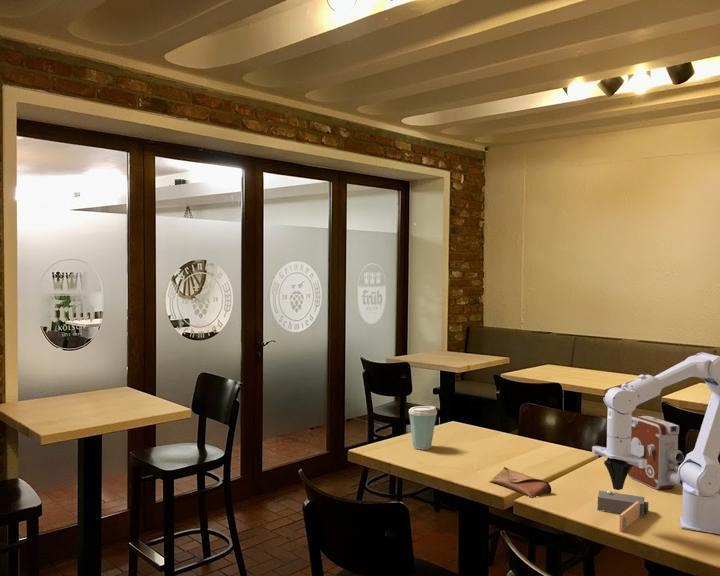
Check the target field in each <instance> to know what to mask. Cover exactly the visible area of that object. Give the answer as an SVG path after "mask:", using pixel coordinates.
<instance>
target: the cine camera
mask: <svg viewBox="0 0 720 576" xmlns="http://www.w3.org/2000/svg"><path fill="white" fill-rule="evenodd" d="M679 434H680V425H678V424H675V423H674V422H669V421H667V420H663V419H659V418H658V417H653V416H649V415H641V416H640V415H638V416H636V415H635V416H632V425H631V453H632V454H634V455H636V456H638V457H641V458H643V459H646V460H647V468H639V467H638V466H635V465H633V466H632V468H631V469H630V471H629V472H628V474H627V476H628V477H629V478H631V479H632V480H635V481H637V482H638V483H641V484H643V485H645V486H647V485H648V487H650V488H651V489H654V490H666V489H674V488H676V486H678V487H679V486H680V487H683V482H682V481H681V480H680V478H679V476H678V468H679V466H680V465H679V463H682V462H683V461H684V459H685V458H684V457H685V456H684V454H683V452H682V451H681V450H679Z"/></svg>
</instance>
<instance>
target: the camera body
mask: <svg viewBox="0 0 720 576" xmlns="http://www.w3.org/2000/svg"><path fill="white" fill-rule="evenodd" d="M597 495H598V496H597V511H600V510H604V511H603V512H607V511H609V512H608V513H613V512H615V513H614V514H619V513H623V512H624V511H625V510H626V509H628V508H629V507H630V506H631V505H633V504H634V503H635V502H636V501H640V517H639V518H645V514H649V502H648V501H645V496H639V495H632V494H625V493H620V492H619V493H618V492H613V491H612V490H607V491H606V490H599V491H598V494H597ZM616 512H617V513H616Z"/></svg>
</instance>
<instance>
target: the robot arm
mask: <svg viewBox="0 0 720 576" xmlns="http://www.w3.org/2000/svg"><path fill="white" fill-rule="evenodd" d="M691 377H692V378H700V379H701V380H702V381H704V382H705V384H706V385H707V387H708V389H709V390H710V391H711V395H710V398H709V402H708V405H707V407H706V411H705V414H704V417H703V420H702V424H701V426H700V430H699V433H698V436H697V439H696V442H695V446H694V449H693V450H691V451H690V452H689V453H687V454H686V455H685V458H684V459H683V461H682V462H681V464H680V465H678V466H679V468H678V471H677V472H678V476H679V478H680V480H681V481H682V482H683V486H682V501H681V502H682V503H681V505H682V509H681V515H679V521H680V528H681V529H685V530H693V531H698V532H703V533H710V534H716V535H720V493H718V492H719V491H720V462H719V455H720V356H719V355H716V354H712V353H708V352H702V351H701V352H698V353H696V354H694V355H691V356H687V358H685V360H682V361H681V362H679V363H677V364H675V365H673V366H671V367H669V368H668V369H666V370H664V371H662V372H660V373H658V374H657V375H655V376H653V375H650V374H641V373H640V374H639V375H638V376H637V378H636V379H634V380H632V381H630V382H628V383H622V384H621V386H620V387H617V386H616V387H611V388H609V389H608V390H607V392H606V393H605V395H604V397H602V398H603V399H602V400H603V403H604V404H605V406H606V407H607V417H606V420H607V421H606V447H605V446H599V445H593V446H592V447H591V450H592V451H591V453H592V455H598V456H600V457H605V458H606V460H604V462H603V464H604V466H605V467H606V469H607V471H608V474H609V477H610V480H611V484H612V488H613V490H616V491H620V490H623V489H624V485H625V481H626V479H627V477H628V472H629V471H630V469H631V468H632V466H633V465H635V466H638V467H639V468H647V460H646V459H643V458H641V457H638V456H636V455H634V454H632V453H631V425H632V417H633V415H632V414H633V412H634V411H635V410H636V408H637V406H638V405H640V404H643V403H645V402H647V401H649V400H651V399H653V398H656V397H658V396H660V395H661V392H662V390H663V389H664V388H666V387H669V386H671V385H674V384H676V383H679V382H682V381H684V380H686V379H688V378H691Z"/></svg>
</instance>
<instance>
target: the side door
mask: <svg viewBox="0 0 720 576" xmlns="http://www.w3.org/2000/svg"><path fill="white" fill-rule="evenodd" d="M638 518H641V517H640V501H636V502H635V503H634V504H633V505H631V506H630V507H629V508H628V509H626V510H625V511H624V512H623V513H621V514H619V532H623V531H624V530H626V529H627V528H628V527H629V526H630V525H632V523H633V522H635V521H636V520H638Z"/></svg>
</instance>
